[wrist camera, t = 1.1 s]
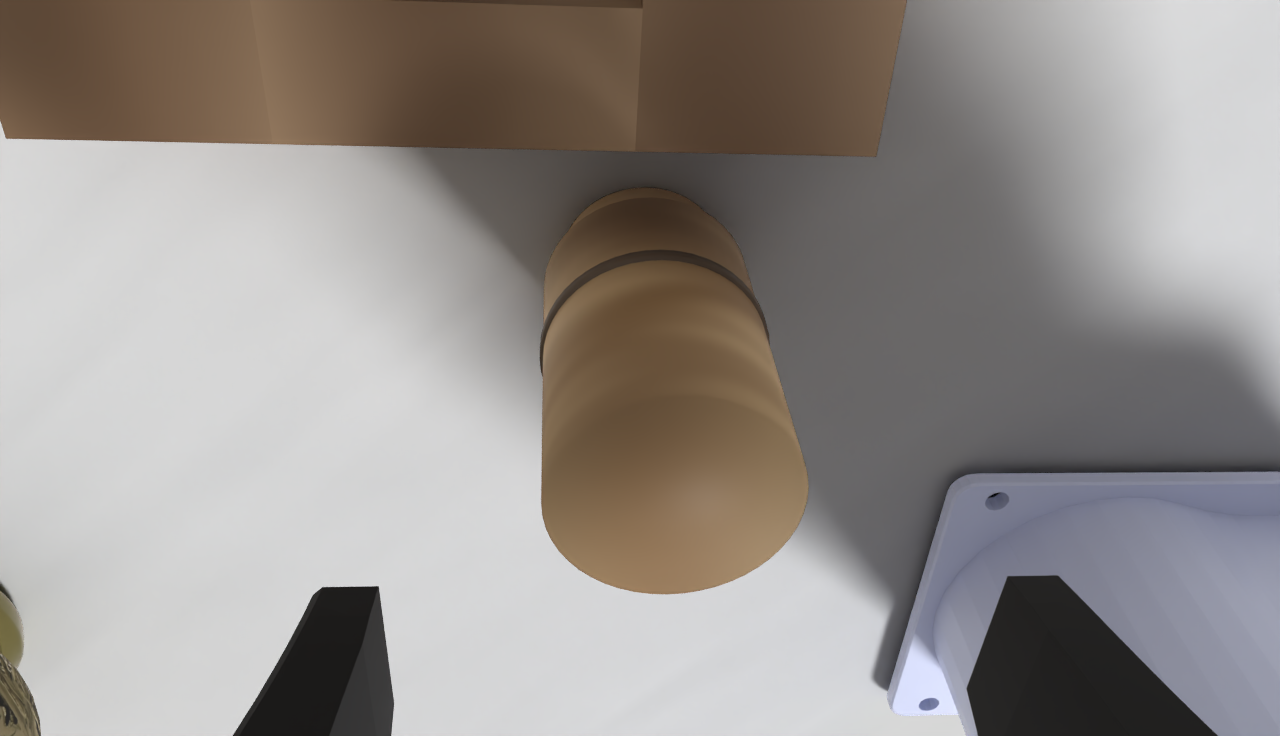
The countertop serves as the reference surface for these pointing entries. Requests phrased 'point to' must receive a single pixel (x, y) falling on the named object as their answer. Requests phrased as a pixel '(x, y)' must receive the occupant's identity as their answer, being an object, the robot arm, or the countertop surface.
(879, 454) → the countertop surface
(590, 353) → the peg
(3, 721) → the cup
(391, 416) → the countertop surface
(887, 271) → the countertop surface
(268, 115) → the board
